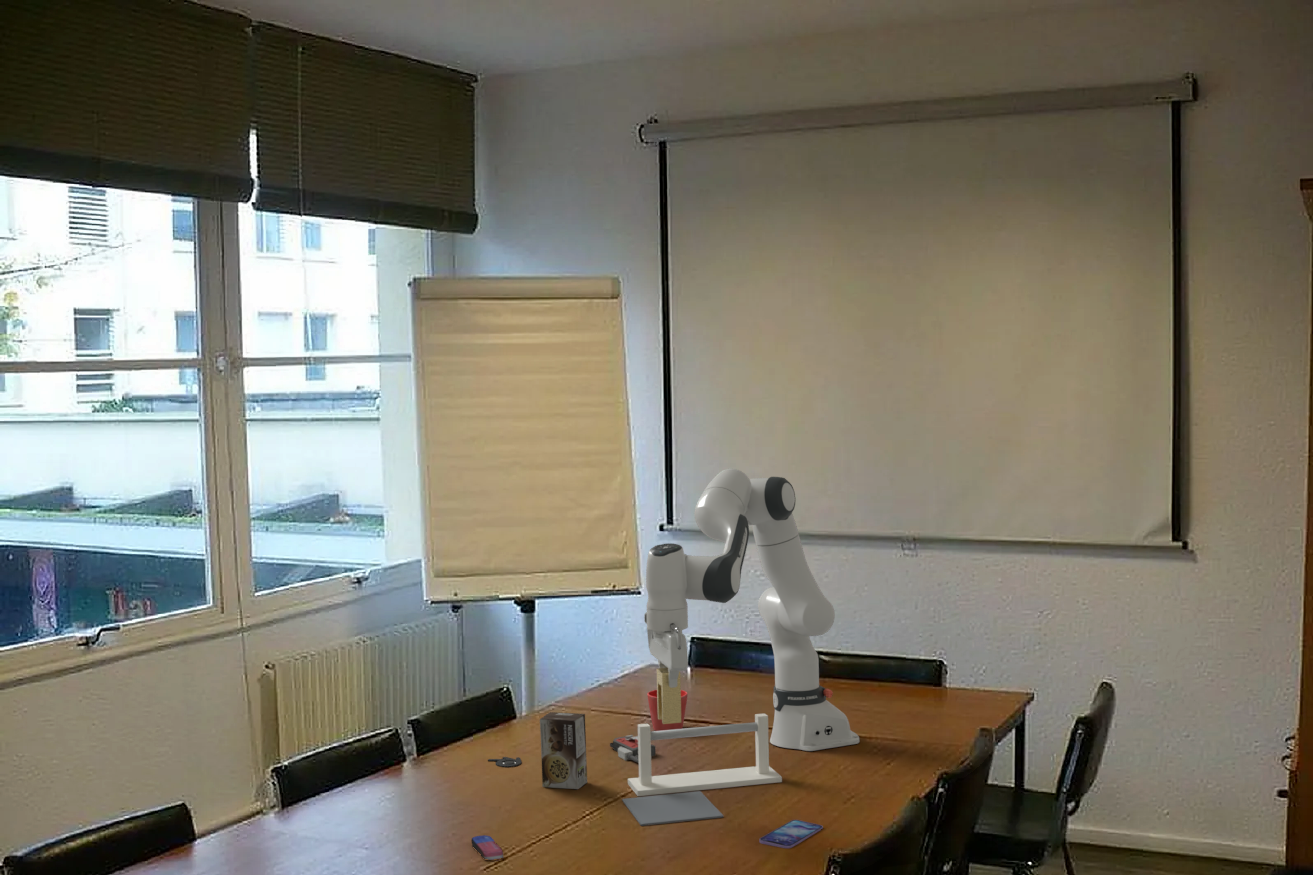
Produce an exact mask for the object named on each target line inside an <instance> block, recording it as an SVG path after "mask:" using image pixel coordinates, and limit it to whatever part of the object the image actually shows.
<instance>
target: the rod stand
mask: <svg viewBox="0 0 1313 875" xmlns="http://www.w3.org/2000/svg"><path fill="white" fill-rule="evenodd" d="M748 732H754V733H755V734H754V738H755V739H754V740H755V742H754V743H755V766H745V767H735V768H734V767H733V768H723V769H716V770H715V769H714V770H703V771H693V772H681V773H680V772H679V773H671V774H661V775H652V757H651V744H652V741H660V740H671V739H672V740H673V739H681V738H682V739H683V738H692V737H694V738H695V737H705V736H707V737H708V736H717V735H728V734H738V733H748ZM637 736H638V761H639V763H638V777H629V778H627V785H628V786H629V788H631V790H632V791H633V792H634V793H635V795H636V796H637V797H646V796H656V795H666V794H676V793H686V792H697V791H705V790H714V789H725V788H734V787H735V788H736V787H743V786H754V785H766V784H774V783H775V784H776V783H783V777H782V776H781V774H779V773H778V772H777V771H776V770H775V769H773V768H772V767H771V766H770V759H769V758H770V755H769V754H770V752H769V748H770V747H769V745H770V744H769V743H770V740H769V715H768V714H766V713H756V714H754V722H745V723H744V722H743V723H732V724H722V725H721V724H720V725H710V726H700V727H688V728H687V727H686V728H682V729H673V730H662V731H655V730H652V731H651V725H650V724H648V723H640V724H639V723H638V724H637Z"/></svg>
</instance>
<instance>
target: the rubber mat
mask: <svg viewBox="0 0 1313 875" xmlns="http://www.w3.org/2000/svg"><path fill="white" fill-rule="evenodd" d="M621 801H622V802H623V804H624V805H625V807H627V809H628V811H629V812H630V813H631V815H632V816H633V817H634V819H635V820H636V821H637V823H638V824H639V826H641V827H642V826H643V827H644V826H654V825H661V824H662V825H663V824H671V823H672V824H673V823H682V822H690V821H691V822H692V821H701V820H711V819H720V818H724V814H723V813H722V812H721V811H720V809H718V808H717V807H716V806H715V805H714V804H713V803H712V801H710V800H709V799H708V797H706V795H705V794H704V792H702V790H696V791H686V792H676V793H666V794H656V795H646V796H637V797H628V798H622V799H621Z"/></svg>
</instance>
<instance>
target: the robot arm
mask: <svg viewBox="0 0 1313 875" xmlns="http://www.w3.org/2000/svg"><path fill="white" fill-rule="evenodd" d="M698 498H699V499H698V500H697V503H696V505H695V506H694V507H695V508H694V513H693V514H694V520H695V523H696V525H697V527H698V528H699V530H700V531H701V532H702V533H703V535H705V536H707V537H708V538H709V539H711V540H714V541H717V542H721V543H724V547H723V550H722V553H721V554H719V555H713V556H709V555H707V556H706V555H691V554H686V553H685V552H684V547H683V546H682V545H680V544H678V543H671V542H668V543H662V544H661V543H660V544H657V545H654V546H653V547H651V548H650V549H649V550H648V554H647V560H646V569H645V571H646V572H645V586H646V587H645V588H646V591H647V596H648V597H647V603H646V612H645V613H644V616H643V618H644V623H645V624H646V630H647V632H646V633H647V641H648V642H647V643H648V650H649V653H650V655H651V656H652V657H654V658H655V659H656V660H657V664H658V668H668V672H669V677H668V686H669V687H671V688H674V687H677V679H678V675H679V671H680V672H683V671H684V672H686V671H687V670H688V667H689V662H688V660H689V658H688V644H687V639H686V635H685V634H684V633H683V631H684V630H686V629H688V628H689V620H688V619H689V618H688V617H689V615H688V614H689V613H688V612H689V610H688V601H687V600H696V601H709V602H714V603H722V604H726V603H728V602H730V600H732V599H733V598H734V597H735V596H736V595H737V594H738V592H739V589H740V585H741V579H742V578H741V577H742V568H743V564H744V561H745V556H746V552H747V547H748V544H749V543H748V542H749V536H750V527H749V526H752V533H753V537H754V542H755V546H756V549H757V550H756V551H757V554H758V558H759V560H760V566H761V569H762V572H763V575H764V577H766V578H767V580H768V581H769V582H770V584H771V585H772V586H770V587H768V588H766V589H765V590H764V591H763V592H762V593H761V595H760V597H759V599H758V604H757V605H758V608H757V609H758V612H759V614H760V616H761V618H762V620H763V621H764V623H765V625H766V628H767V629H766V630H767V632H768V636H769V640H770V644H771V647H772V648H771V649H772V652H773V659H774V660H773V661H774V686H773V694H772V698H773V699H772V700H773V701H772V702H773V703H772V704H773V708H774V715H773V716H774V717H773V724H772V731H771V735H770V739H769V743H770V744H772V745H773V746H777V747H780V748H785V749H794V750H800V751H801V750H802V751H804V752H805V751H806V752H813V751H820V750H825V749H826V750H827V749H832V748H838V747H845V746H850V745H851V746H852V745H856V744H857V745H858V744H859V743H860V736H859V735H858V734H857V733H856V732H854V731H852V730H851V726H850V722H849V721H850V720H849V719H848V717H847V715H846V714H845V713H844V712H843V711H841V710H840V709H839V708H838V707H836V705H834V704H833V703H831V702H830V701H829V700H827V698H829V699H830V698H832V696H833V694H834V692H833V690H831V689H830V688H826V687H823V686H822V685H820V668H819V663H820V662H819V654H818V652H817V651H816V649H815V647H814V646H813V643H812V640H811V638H810V637H817V636H818V637H819V636H823V635H825V634H827V632H829V631H830V630H831V628H833V625H834V622H835V608H834V606H833V605H832V603H831V602H830V601H829V600H828V598H827V597H825V595H824V594H823V592H822V591H821V589H820V587H819V585H818V583H817V581H816V579H815V577H814V575H813V573H812V571H811V569H810V567H809V565H808V562H807V560H806V555H805V552H804V548H803V545H802V541H801V538H800V533H799V529H798V526H797V523H796V519H795V518H794V515H793V511H794V510H795V507H796V500H797V499H796V493H795V489H794V487H793V485H792V484H791V482H790V481H788V480H787V479H786V477H783V476H770V477H755V478H749V476H748V475H747V474H746V473H745V472H743V471H742V470H739V469H737V468H726V469H723V470H721V471H720V472H719V473H717V475H715V476H714V477H713V478H712V479H711V481H709V483H708V484H707V486H706V487H705V488H704V490H703V492H702V493H701V495H700V497H698Z"/></svg>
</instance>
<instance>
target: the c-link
mask: <svg viewBox="0 0 1313 875" xmlns="http://www.w3.org/2000/svg"><path fill="white" fill-rule="evenodd" d="M668 677H669V672H668V668H659V667H658V668H656V690H657V710H658V719H659V720H660V719H662V723H663V724H671V723H681V690H682V689H681V688H682V687H681V686H682V685H681V682H682V680H681V671H679V675H678V679H677V687H674V688H671V687H669V686H668Z"/></svg>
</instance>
